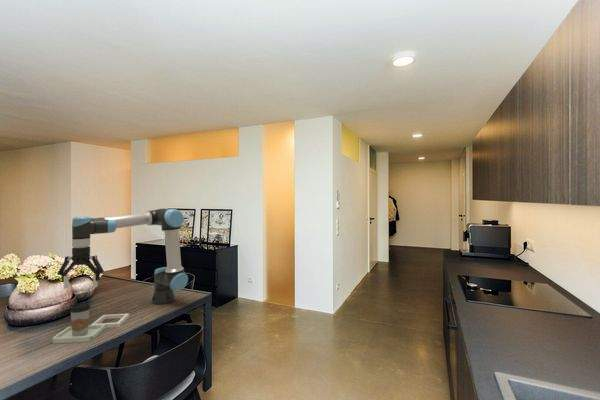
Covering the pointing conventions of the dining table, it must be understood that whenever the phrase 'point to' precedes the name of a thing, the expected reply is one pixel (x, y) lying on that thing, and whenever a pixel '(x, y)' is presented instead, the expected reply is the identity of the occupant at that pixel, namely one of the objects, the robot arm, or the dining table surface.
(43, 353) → the dining table surface
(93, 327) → the tray
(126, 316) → the frame
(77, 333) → the coffee cup
